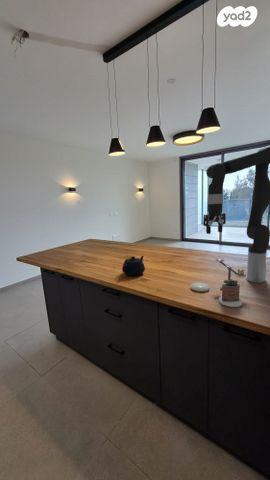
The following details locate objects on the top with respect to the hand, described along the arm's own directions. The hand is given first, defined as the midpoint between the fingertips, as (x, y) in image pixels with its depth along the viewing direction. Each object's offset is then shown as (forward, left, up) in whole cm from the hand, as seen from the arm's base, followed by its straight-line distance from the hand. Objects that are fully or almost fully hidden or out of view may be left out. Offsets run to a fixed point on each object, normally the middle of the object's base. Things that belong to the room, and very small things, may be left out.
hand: (214, 232), depth 116 cm
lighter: (+10, +20, -29) cm, 36 cm away
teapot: (+29, -43, -30) cm, 60 cm away
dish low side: (+10, +20, -30) cm, 37 cm away
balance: (-1, +10, -30) cm, 32 cm away
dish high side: (+10, 0, -30) cm, 32 cm away
